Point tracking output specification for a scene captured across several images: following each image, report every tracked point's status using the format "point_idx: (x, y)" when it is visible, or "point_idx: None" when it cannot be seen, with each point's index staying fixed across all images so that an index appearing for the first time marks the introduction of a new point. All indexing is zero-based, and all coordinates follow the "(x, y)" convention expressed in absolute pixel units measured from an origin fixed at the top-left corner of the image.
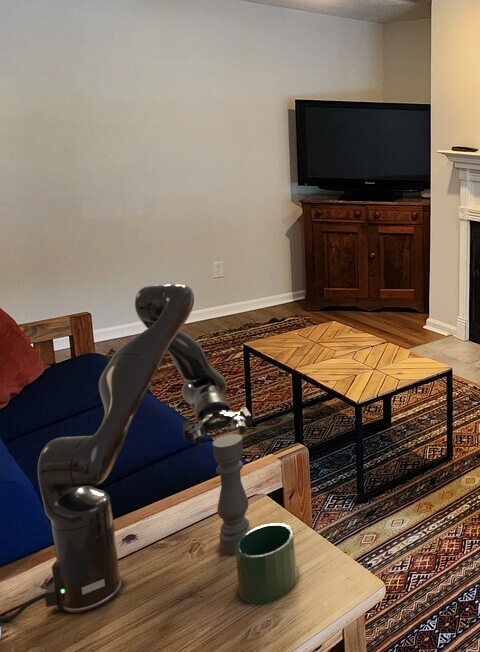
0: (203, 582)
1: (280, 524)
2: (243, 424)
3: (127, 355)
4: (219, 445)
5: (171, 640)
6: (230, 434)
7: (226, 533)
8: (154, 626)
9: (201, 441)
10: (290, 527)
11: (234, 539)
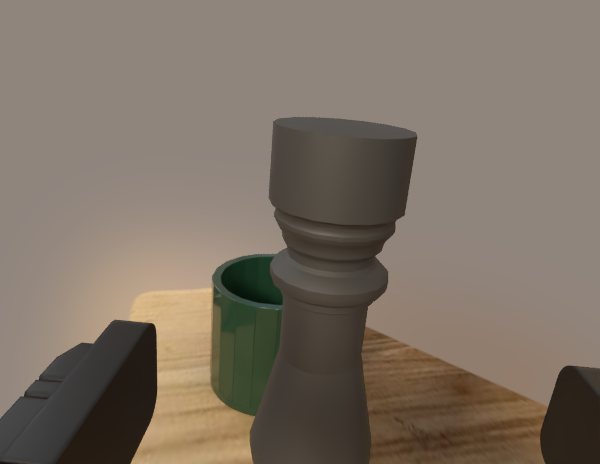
0: (399, 459)
1: (226, 292)
2: (65, 375)
3: None
4: (383, 126)
5: (442, 362)
6: (321, 134)
7: None
8: (483, 402)
9: (552, 407)
10: (213, 278)
11: None
